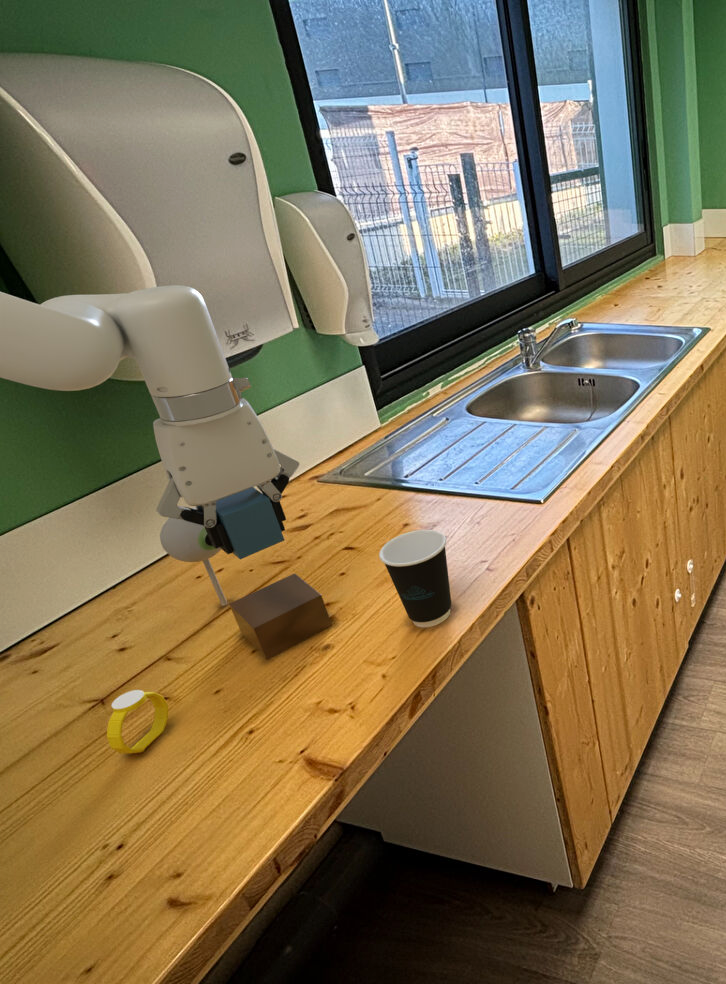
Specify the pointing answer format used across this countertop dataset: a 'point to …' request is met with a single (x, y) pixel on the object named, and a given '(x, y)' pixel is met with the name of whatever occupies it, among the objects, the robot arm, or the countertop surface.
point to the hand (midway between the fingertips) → (252, 537)
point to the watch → (128, 704)
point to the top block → (249, 522)
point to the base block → (280, 615)
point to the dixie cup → (420, 575)
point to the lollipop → (190, 546)
